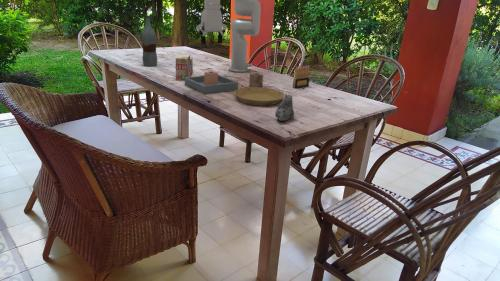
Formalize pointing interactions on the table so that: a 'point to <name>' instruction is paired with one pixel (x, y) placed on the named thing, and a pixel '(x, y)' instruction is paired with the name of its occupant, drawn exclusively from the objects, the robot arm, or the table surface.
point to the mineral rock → (285, 109)
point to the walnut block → (256, 80)
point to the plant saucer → (259, 95)
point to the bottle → (149, 45)
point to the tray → (222, 85)
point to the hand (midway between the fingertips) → (211, 43)
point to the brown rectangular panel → (301, 77)
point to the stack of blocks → (183, 66)
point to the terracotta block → (210, 78)
